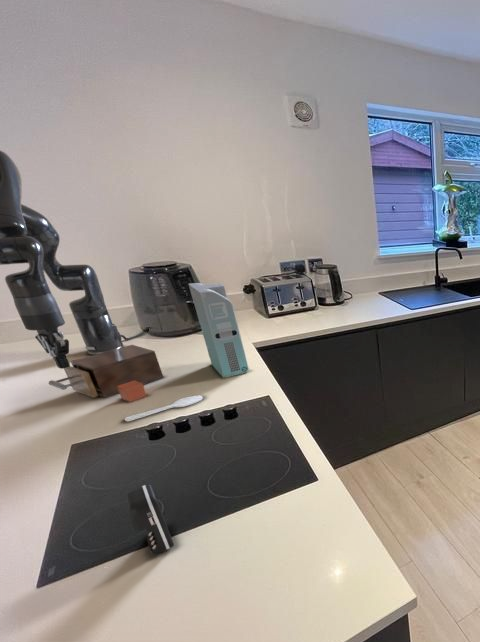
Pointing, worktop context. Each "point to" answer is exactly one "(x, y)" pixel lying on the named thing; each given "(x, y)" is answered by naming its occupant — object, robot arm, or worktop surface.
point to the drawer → (79, 381)
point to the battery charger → (149, 518)
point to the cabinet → (121, 368)
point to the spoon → (167, 407)
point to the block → (131, 391)
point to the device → (219, 328)
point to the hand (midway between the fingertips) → (64, 367)
